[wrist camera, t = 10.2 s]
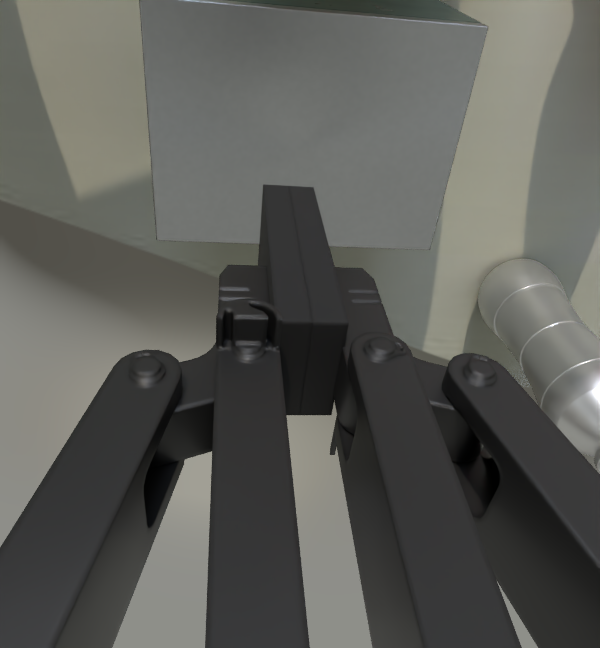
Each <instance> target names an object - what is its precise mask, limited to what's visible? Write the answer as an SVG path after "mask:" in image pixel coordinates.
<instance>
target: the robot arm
mask: <svg viewBox="0 0 600 648" xmlns="http://www.w3.org/2000/svg"><path fill="white" fill-rule="evenodd" d="M381 302H382V301H381V298H380V295H379V294H378V290H377V287H376V284H375V281H374V279H373V278H372V277H371V276H370V275H369V274H368V273H367V272H366V271H365V270H364V269H363V268H342V267H334V264H333V260H332V256H331V252H330V248H329V244H328V241H327V237H326V233H325V229H324V225H323V221H322V218H321V214H320V210H319V206H318V202H317V198H316V195H315V191H314V187H301V186H283V185H264V184H263V194H262V210H261V226H260V242H259V258H258V266H249V265H228V266H227V267H226V268H225V269H224V271H223V272H222V273H221V274H220V278H219V304H218V314H217V318H216V323H217V324H216V343H215V345H214V346H213V348H212V349H211V350H210V351H208V352H207V353H206V354H204V355H202V356H200V357H198V358H195V359H192V360H188V361H184V362H179V361H178V360H177V359H176V358H174V357H173V356H172V355H171V354H169V353H165V352H162V351H159V350H143V351H138V352H133V353H131V354H129V355H127V356H125V357H123V358H121V359H120V360H119V361H118V362H117V364H116V365H115V366H114V367H113V369H112V370H111V372H110V373H109V375H108V377H107V378H106V380H105V382H104V383H103V385H102V386H101V388H100V389H99V391H98V393H97V394H96V396H95V397H94V399H93V401H92V402H91V404H90V405H89V407H88V409H87V410H86V412H85V413H84V415H83V416H82V418H81V420H80V421H79V423H78V425H77V426H76V428H75V429H74V431H73V433H72V434H71V436H70V437H69V439H68V440H67V442H66V444H65V445H64V447H63V448H62V450H61V452H60V453H59V455H58V456H57V458H56V460H55V461H54V463H53V464H52V466H51V468H50V469H49V471H48V472H47V474H46V476H45V477H44V479H43V481H42V482H41V484H40V485H39V487H38V488H37V490H36V492H35V493H34V495H33V496H32V498H31V500H30V501H29V503H28V504H27V506H26V507H25V509H24V511H23V512H22V514H21V516H20V517H19V519H18V520H17V522H16V523H15V525H14V527H13V528H12V530H11V531H10V533H9V535H8V536H7V538H6V539H5V541H4V543H3V544H2V546H1V547H0V648H112V647H113V644H114V641H115V639H116V637H117V634H118V631H119V629H120V626H121V624H122V621H123V619H124V616H125V614H126V611H127V608H128V606H129V603H130V600H131V598H132V596H133V593H134V590H135V588H136V585H137V583H138V580H139V577H140V575H141V573H142V570H143V567H144V565H145V562H146V560H147V557H148V555H149V552H150V550H151V547H152V544H153V542H154V539H155V537H156V534H157V532H158V529H159V527H160V524H161V521H162V519H163V516H164V514H165V511H166V509H167V506H168V503H169V501H170V498H171V496H172V493H173V491H174V488H175V485H176V483H177V480H178V478H179V475H180V473H181V470H182V468H183V465H184V459H187V458H190V457H194V456H196V455H201V454H204V453H207V452H211V451H212V476H211V504H210V532H209V558H208V587H207V613H206V641H205V648H310V647H309V638H308V627H307V618H306V607H305V597H304V587H303V577H302V568H301V557H300V547H299V537H298V527H297V518H296V508H295V497H294V487H293V478H292V468H291V458H290V448H289V438H288V429H287V418H286V415H331V414H332V409H333V403H334V400H335V405H336V410H337V418H336V422H335V427H334V432H333V438H332V442H331V448H330V455H335V451H336V446H337V450H338V456H339V461H340V467H341V473H342V478H343V484H344V489H345V495H346V501H347V506H348V512H349V518H350V523H351V529H352V534H353V540H354V545H355V551H356V557H357V563H358V568H359V574H360V579H361V585H362V591H363V596H364V602H365V608H366V613H367V619H368V624H369V630H370V636H371V641H372V646H373V648H522V647H521V645H520V642H519V639H518V637H517V634H516V631H515V629H514V626H513V623H512V621H511V618H510V615H509V613H508V610H507V607H506V605H505V602H504V599H503V597H502V594H501V592H500V589H499V586H498V584H497V581H498V583H499V585H500V586H501V588H502V590H503V591H504V593H505V594H506V596H507V598H508V599H509V601H510V603H511V604H512V606H513V607H514V609H515V611H516V612H517V614H518V615H519V617H520V619H521V620H522V622H523V623H524V625H525V627H526V628H527V630H528V632H529V633H530V635H531V637H532V638H533V640H534V641H535V643H536V644H537V646H538V648H600V474H599V473H598V472H597V471H596V470H595V469H594V468H593V466H592V465H591V464H590V463H589V462H588V461H587V460H586V459H585V457H584V456H583V455H582V454H581V453H580V452H579V451H578V450H577V449H576V447H575V446H574V445H573V444H572V443H571V442H570V441H569V440H568V438H567V437H566V436H565V435H564V434H563V433H562V432H561V431H560V429H559V428H558V427H557V426H556V425H555V424H554V423H553V422H552V420H551V419H550V418H549V417H548V416H547V415H546V414H545V413H544V412H543V410H542V409H541V408H540V407H539V406H538V405H537V404H536V403H535V402H534V400H533V399H532V398H531V397H530V396H529V395H528V394H527V392H526V391H525V390H524V389H523V388H522V387H521V386H520V385H519V384H518V382H517V381H516V380H515V379H514V378H513V377H512V376H511V375H510V373H509V372H508V371H507V370H506V369H505V368H504V367H503V366H501V365H500V364H499V363H498V362H496V361H494V360H492V359H490V358H488V357H486V356H483V355H478V354H474V353H465V354H460V355H457V356H454V357H453V358H452V360H451V361H450V362H449V364H448V367H445V366H442V365H437V364H434V363H429V362H426V361H423V360H419V359H417V358H415V357H413V356H412V353H411V351H410V349H409V348H408V346H407V345H406V343H404V342H403V341H402V340H400V339H399V338H398V337H395V336H394V335H393V332H392V329H391V327H390V324H389V321H388V318H387V315H386V312H385V310H384V307H383V304H381Z"/></svg>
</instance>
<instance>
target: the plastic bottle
mask: <svg viewBox="0 0 600 648" xmlns="http://www.w3.org/2000/svg"><path fill="white" fill-rule="evenodd" d="M478 305H479V309H480V312H481V315H482V318H483V320H484V322H485V323H486V324H487V325H488V327H489V328H490V329H491V330H492V331H493V332H494V333H495V335H497V336H498V337H499V338H500V339H501V340H502V341H503V342H504V343H505V345H506V346H507V347H508V349H509V350H510V351H511V352H512V354H513V355H514V356H515V358H516V359H517V360H518V362H519V364H520V366H521V368H522V370H523V371H524V373H525V375H526V377H527V379H528V381H529V383H530V385H531V387H532V390H533V392H534V395H535V397H536V400H537V403H538V405H539V407H540V408H541V409H542V410H543V412H544V413H545V414H546V415H547V416H548V417H549V418H550V419H551V420H552V422H553V423H554V424H555V425H556V426H557V427H558V428H559V429H560V431H561V432H562V433H563V434H564V435H565V436H566V437H567V438H568V440H569V441H570V442H571V443H572V444H573V445H574V446H575V447H576V449H577V450H578V451H579V452H581V453H583V454H586V455H589V456H592V457H594V464H595V466H596V468H597V469H598V471H599V472H600V339H599V338H598V337H597V336H596V335H595V334H594V333H593V332H592V331H591V330H590V329H589V328H588V327H587V326H586V325H585V323H584V322H583V321H582V320H581V319H580V317H579V316H578V314H577V312H576V311H575V309H574V308H573V306H572V305H571V303H570V302H569V300H568V299H567V296H566V293H565V291H564V288H563V286H562V285H561V283H560V281H559V279H558V278H557V276H556V275H555V273H554V272H552V271H551V270H550V269H549V268H547V267H546V266H544V265H543V264H542V263H540V262H538V261H536V260H532V259H514V260H509V261H507V262H504V263H502V264H500V265H498V266H497V267H495V268H494V269H493V270H492V271H491V272H490V273H489V274H488V275H487V276H486V278H485V279H484V281H483V283H482V285H481V287H480V290H479V293H478Z"/></svg>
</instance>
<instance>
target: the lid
mask: <svg viewBox="0 0 600 648" xmlns="http://www.w3.org/2000/svg"><path fill="white" fill-rule="evenodd" d="M139 3H140V17H141V31H142V45H143V59H144V73H145V87H146V100H147V114H148V128H149V142H150V156H151V170H152V184H153V197H154V211H155V225H156V239H157V240H161V241H189V242H218V243H246V244H259V242H260V226H261V210H262V194H263V184H264V185H283V186H301V187H314V191H315V195H316V198H317V202H318V206H319V210H320V214H321V218H322V221H323V225H324V229H325V233H326V237H327V241H328V244H329V246H332V247H360V248H389V249H417V250H430V247H431V243H432V239H433V235H434V231H435V228H436V224H437V220H438V216H439V212H440V209H441V205H442V201H443V197H444V194H445V190H446V186H447V182H448V178H449V175H450V171H451V167H452V163H453V159H454V156H455V152H456V148H457V144H458V140H459V137H460V133H461V129H462V125H463V121H464V118H465V114H466V110H467V106H468V102H469V99H470V95H471V91H472V87H473V83H474V80H475V76H476V72H477V68H478V64H479V61H480V57H481V53H482V49H483V45H484V42H485V38H486V34H487V30H488V26H486V25H484V24H482V23H473V22H461V21H450V20H439V19H428V18H417V17H406V16H394V15H383V14H372V13H361V12H350V11H339V10H327V9H316V8H305V7H294V6H283V5H272V4H260V3H249V2H238V1H227V0H139Z"/></svg>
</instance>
